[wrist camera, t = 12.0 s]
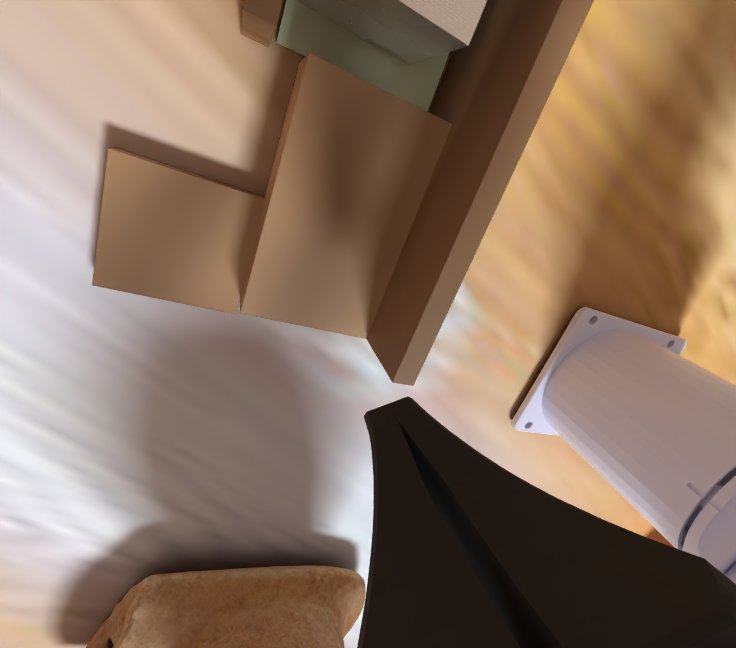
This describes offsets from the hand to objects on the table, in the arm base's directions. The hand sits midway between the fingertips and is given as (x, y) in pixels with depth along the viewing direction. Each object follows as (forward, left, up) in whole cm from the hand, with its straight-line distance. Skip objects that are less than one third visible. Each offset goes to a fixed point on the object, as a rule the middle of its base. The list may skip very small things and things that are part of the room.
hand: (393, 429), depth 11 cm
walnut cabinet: (+4, -7, -7) cm, 11 cm away
